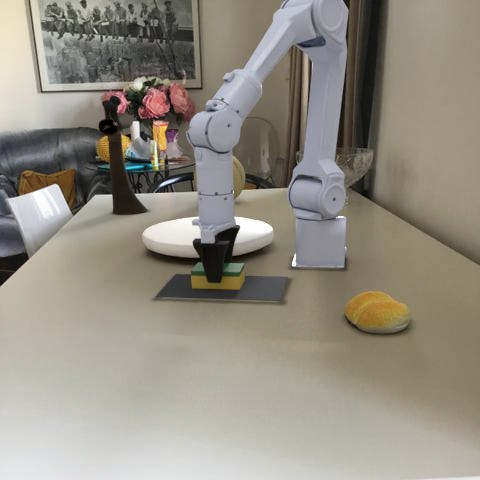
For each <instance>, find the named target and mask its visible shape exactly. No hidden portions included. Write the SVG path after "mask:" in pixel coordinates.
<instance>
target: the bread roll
mask: <svg viewBox="0 0 480 480" xmlns="http://www.w3.org/2000/svg"><path fill="white" fill-rule="evenodd" d="M344 313H345V316H346V318H347V320H348V321H349V322H350V323H351V324H353V325H355V326H356V327H357V328H358V329H359V330H360V331H363V332H365V333H371V334H373V333H375V334H384V335H385V334H393V333H398V332H400V331H403V330H404V329H406V328H407V327H408V326H409V324H410V321H411V313H410V309H409V308H408V306H407V304H405V303H402V302H400V301H396V300H395V299H394V298H393V297H392V296H390V295H388V294H387V293H385V292H382V291H376V290H371V291H370V290H369V291H368V290H367V291H363V292H361V293H359V294H357V295H355V296H354V297H353V298H351V299H350V300H349V301H348V303H347V304H346V305H345V307H344Z"/></svg>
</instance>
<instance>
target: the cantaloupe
mask: <svg viewBox="0 0 480 480" xmlns="http://www.w3.org/2000/svg"><path fill="white" fill-rule="evenodd" d="M232 157H233V187H234V201H235V200H236V199H237V198H239V196H240V195H241V194H242V192H243V190H244V188H245V185H246V172H245V169H244V167H243V165H242V164H241V163H242V162H240V161H239V159H238V158H237V157H236V156H235V155H233V154H232ZM193 183H194V187H195V190H196V191H197V177H196V166H195V168H194V171H193Z"/></svg>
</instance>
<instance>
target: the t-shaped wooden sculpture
mask: <svg viewBox="0 0 480 480" xmlns="http://www.w3.org/2000/svg"><path fill="white" fill-rule="evenodd" d="M101 104H102V107H103V111H104V113H103V114H104V119H101V120H99V122H98V125H97V126H98V127H97V128H98V131H99V132H100V134H102V136H105V137H107V143H108V144H107V145H108V156H109V157H108V158H109V177H110V186H111V199H112V214H115V215H130V214H131V215H133V214H140V213H146V212H148V208H147V207H146V206H145V205H144V204H143V203H142V202H141V201H140V199H139V198H138V197H137V195H136V193H135V192H134V190H133V188H132V185H131V183H130V179H129V175H128V171H127V168H126V163H125V158H124V149H123V138H122V133H123V132H124V131H123V130H126V129H129V128H131V127H132V126H133V123H134V119H133V117H132V116H131V115H130V114H128V113H120V114H118V111H119V106H120V105H121V104H122V100H121V98H120V97H119V96H117V95H111V96H110V97H109V99H105V100H103V101H101Z"/></svg>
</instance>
